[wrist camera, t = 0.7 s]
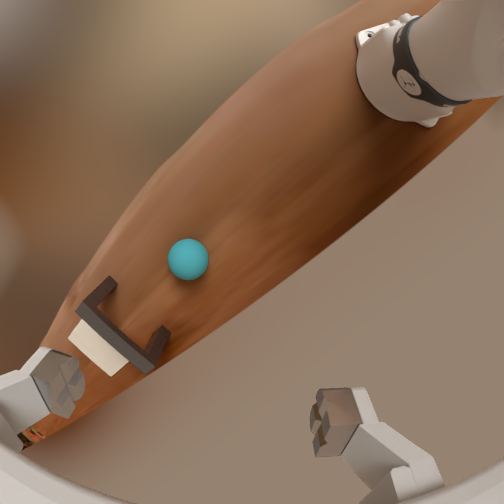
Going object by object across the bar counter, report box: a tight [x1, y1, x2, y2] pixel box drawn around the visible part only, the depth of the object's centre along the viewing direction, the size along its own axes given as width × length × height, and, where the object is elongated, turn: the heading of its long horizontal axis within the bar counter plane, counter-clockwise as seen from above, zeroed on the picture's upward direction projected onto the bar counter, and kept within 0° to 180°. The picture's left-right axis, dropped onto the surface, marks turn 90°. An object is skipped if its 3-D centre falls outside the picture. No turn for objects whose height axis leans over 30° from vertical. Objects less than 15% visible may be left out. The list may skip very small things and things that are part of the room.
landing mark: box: [68, 319, 129, 376], centre depth 51 cm, size 13×13×1 cm
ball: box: [168, 239, 209, 280], centre depth 42 cm, size 6×6×6 cm
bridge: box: [75, 276, 170, 374], centre depth 44 cm, size 3×15×10 cm, turn 43°
